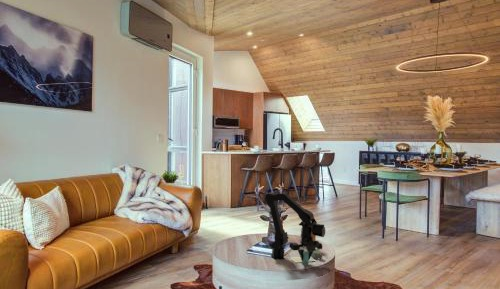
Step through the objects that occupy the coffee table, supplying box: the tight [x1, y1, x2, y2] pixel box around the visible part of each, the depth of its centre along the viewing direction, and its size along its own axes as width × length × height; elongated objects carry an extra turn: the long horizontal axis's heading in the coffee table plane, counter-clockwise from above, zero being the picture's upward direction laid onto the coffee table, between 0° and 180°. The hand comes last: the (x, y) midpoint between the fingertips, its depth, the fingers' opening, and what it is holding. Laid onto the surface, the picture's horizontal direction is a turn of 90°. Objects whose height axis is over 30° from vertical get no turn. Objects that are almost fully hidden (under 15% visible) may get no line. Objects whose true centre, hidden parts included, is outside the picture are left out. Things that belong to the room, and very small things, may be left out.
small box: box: [299, 227, 317, 250], centre depth 239 cm, size 8×6×13 cm
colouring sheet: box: [289, 256, 316, 264], centre depth 216 cm, size 13×8×1 cm, turn 107°
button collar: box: [311, 251, 323, 260], centre depth 221 cm, size 5×5×2 cm
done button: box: [313, 248, 321, 255], centre depth 221 cm, size 4×4×4 cm
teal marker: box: [301, 249, 309, 266], centre depth 209 cm, size 4×4×8 cm
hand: (305, 260), depth 209 cm, fingers closed on teal marker, 4 cm apart
